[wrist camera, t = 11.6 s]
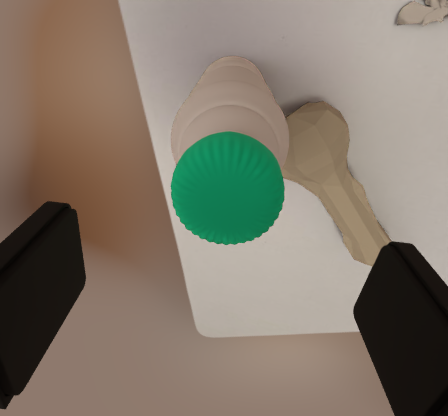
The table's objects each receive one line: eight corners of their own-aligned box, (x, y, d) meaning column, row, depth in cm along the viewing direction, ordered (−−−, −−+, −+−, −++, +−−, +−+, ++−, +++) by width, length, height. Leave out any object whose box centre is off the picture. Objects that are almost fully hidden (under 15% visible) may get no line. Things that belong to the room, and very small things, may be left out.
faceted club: (330, 72, 32) (409, 231, 42) (259, 113, 36) (347, 247, 47) (332, 109, 25) (425, 285, 36) (246, 153, 30) (352, 298, 41)
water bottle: (200, 122, 36) (147, 270, 14) (199, 54, 32) (124, 110, 10) (261, 124, 35) (304, 276, 14) (267, 55, 32) (335, 116, 10)
